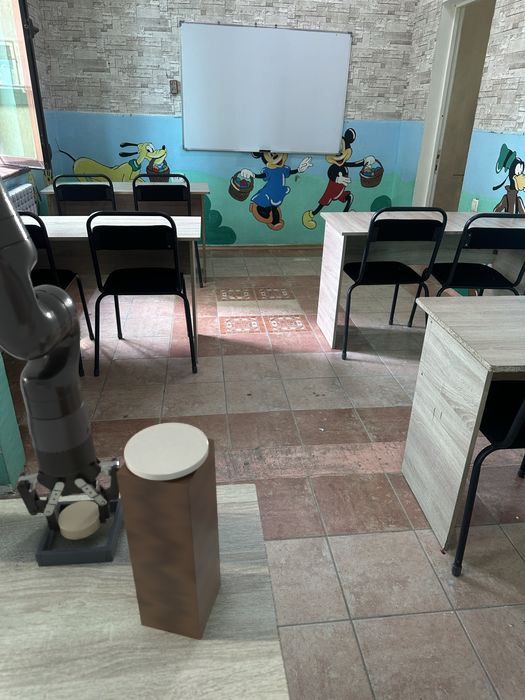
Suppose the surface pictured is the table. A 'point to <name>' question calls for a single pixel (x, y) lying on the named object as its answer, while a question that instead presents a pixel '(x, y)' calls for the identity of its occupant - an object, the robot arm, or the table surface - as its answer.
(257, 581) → the table surface
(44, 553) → the bin
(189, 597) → the riser box
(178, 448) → the bottom plate
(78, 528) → the top plate
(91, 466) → the robot arm
